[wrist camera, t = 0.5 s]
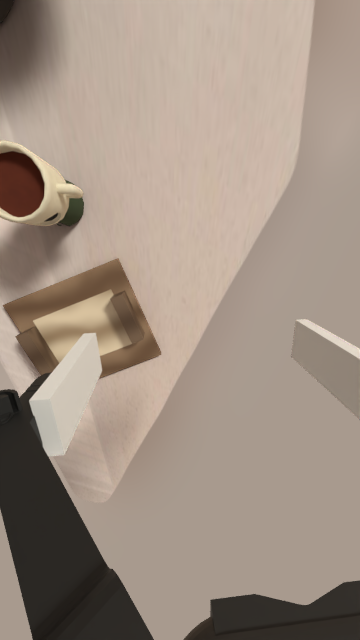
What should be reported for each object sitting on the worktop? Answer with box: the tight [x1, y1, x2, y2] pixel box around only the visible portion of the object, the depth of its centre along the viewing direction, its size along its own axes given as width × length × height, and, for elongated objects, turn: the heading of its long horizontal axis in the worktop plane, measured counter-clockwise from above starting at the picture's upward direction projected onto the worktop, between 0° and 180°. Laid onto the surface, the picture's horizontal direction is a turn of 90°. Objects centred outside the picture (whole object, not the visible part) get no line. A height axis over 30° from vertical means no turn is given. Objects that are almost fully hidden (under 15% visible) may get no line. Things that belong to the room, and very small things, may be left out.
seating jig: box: [3, 259, 161, 378], centre depth 40 cm, size 18×20×4 cm
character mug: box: [0, 140, 84, 226], centre depth 29 cm, size 11×7×13 cm, turn 89°
